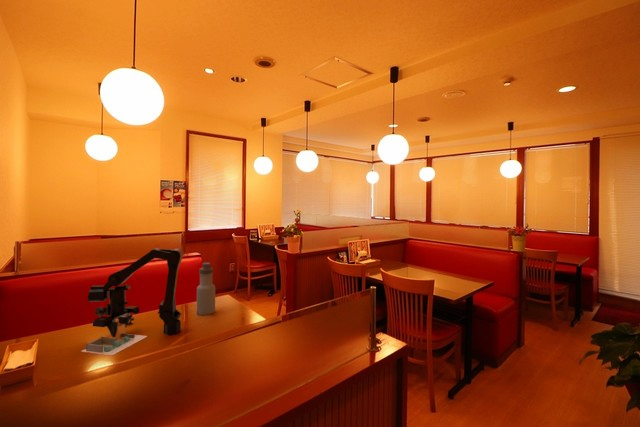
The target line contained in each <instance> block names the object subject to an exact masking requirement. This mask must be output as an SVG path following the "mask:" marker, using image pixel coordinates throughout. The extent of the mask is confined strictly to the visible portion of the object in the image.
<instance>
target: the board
mask: <svg viewBox="0 0 640 427" xmlns="http://www.w3.org/2000/svg"><path fill="white" fill-rule="evenodd" d="M132 335H135V337H134V338H129V341H128V342H126V343H124V344H122V345H120V346H118V347H117V348H115V349H113V350H111V351H109V352H105V351H104V347H105V346H110V347H112V346H113V345H107V344H101V345H103V352H94V351H86V348H85V349H82V350H80V352H82V353H88V354H90V353H91V354H97V355H98V354H99V355H105V356H114V355H116V354H117V353H120V352H121V351H123V350H125V349H127V348H128V347H129V348H130V347H131V346H132V345H135V344H136V343H138V342H139V341H141V340H143V339H145V338H147V337H148V336H147V335H142V334H141V335H140V334H132ZM116 341H121V342H122V341H124V337H122V338H120V339H116Z"/></svg>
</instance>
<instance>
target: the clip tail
mask: <svg viewBox="0 0 640 427" xmlns="http://www.w3.org/2000/svg"><path fill="white" fill-rule="evenodd" d="M118 346H119V342H113V346H112V347H110V346H105V347H104V351H105V352H109V351H111V350H113V349H115V348H117V347H118Z"/></svg>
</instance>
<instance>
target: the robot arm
mask: <svg viewBox="0 0 640 427" xmlns="http://www.w3.org/2000/svg"><path fill="white" fill-rule="evenodd" d="M183 257H184V252H183V250H181V249H180V248H173V249H165V248H163V249H162V248H154V249H151V250H150V251H148V252H147V253H146V254H144V255H143V256H141V257H139V258H138V259H137V260H135V261H134V262H132V263H131V264H129V265H127V266H126V267H123V268H122V269H120V270H118V271H115V272H113V273H111V274H110V275H109V276H108V277H107V282H106V283H105V284H104V285H92V286H90V290H88V295H87V301H88V302H89V303H93V302H96V303H97V302H106V301H107V299H109V302H108V303H106V307H102V306H99V307H95V308H94V314H95V316H99V317H98V318H95V319H94V320H93V321H92V327H97V328H106V327H107V329H108V331H109V334H110V333H111V335H112V337H115V335H116V331H117V326H118V321H119V323H121V324H125V329H126V328H127V326H128V325H129V324H128V323H129V322H130V319H131V318H134V317H133V315H136V314H138V313H140V308H139V307H138V306H134V305H129V306H126V304H127V305H128V300H126V291H128V290H130V289H131V286H130V285H128V284H127V283H125V282H126V281H127V280H128V279H130V278H131V277H132V276H133V274H134V273H135V272H137V271H138V270H140V269H141V268H143V267H144V266H146V265H147V264H148V263H151V261H153V260H154V259H159V260H164V261H166V262H167V263H166V264H167V269H168V272H167V279H166V285H165V286H166V287H165V293H164V294H165V295H164V300H162V301H161V302H160V303H159V305H158V312H157V315H158V314H159V316H158V317H159V319H160V320H161V321H163V323H164V324H163V334H165V335H166V336H173V335H178V334H179V333H181V327H182V326H181V325H182V324H181V323H182V322H181V320H180V318H181V315H182V313H181V312H180V310H177V303H176V298H175V297H176V289H177V282H178V274H179V268H180V266H181V263H182V261H183ZM124 283H125V284H124ZM122 284H123V285H122ZM131 313H132V316H130V314H131ZM104 315H105V316H104ZM116 320H118V321H116ZM127 324H128V325H127Z"/></svg>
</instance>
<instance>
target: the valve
mask: <svg viewBox="0 0 640 427" xmlns="http://www.w3.org/2000/svg"><path fill="white" fill-rule="evenodd" d="M130 316H133V313H132V314H131V313H130ZM132 321H135V318H134V317H132V318H131V319H130V321H129V322H128V324H127V326H128V325H133V322H132ZM117 322H118V323H119V320H118V321H117Z"/></svg>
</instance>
